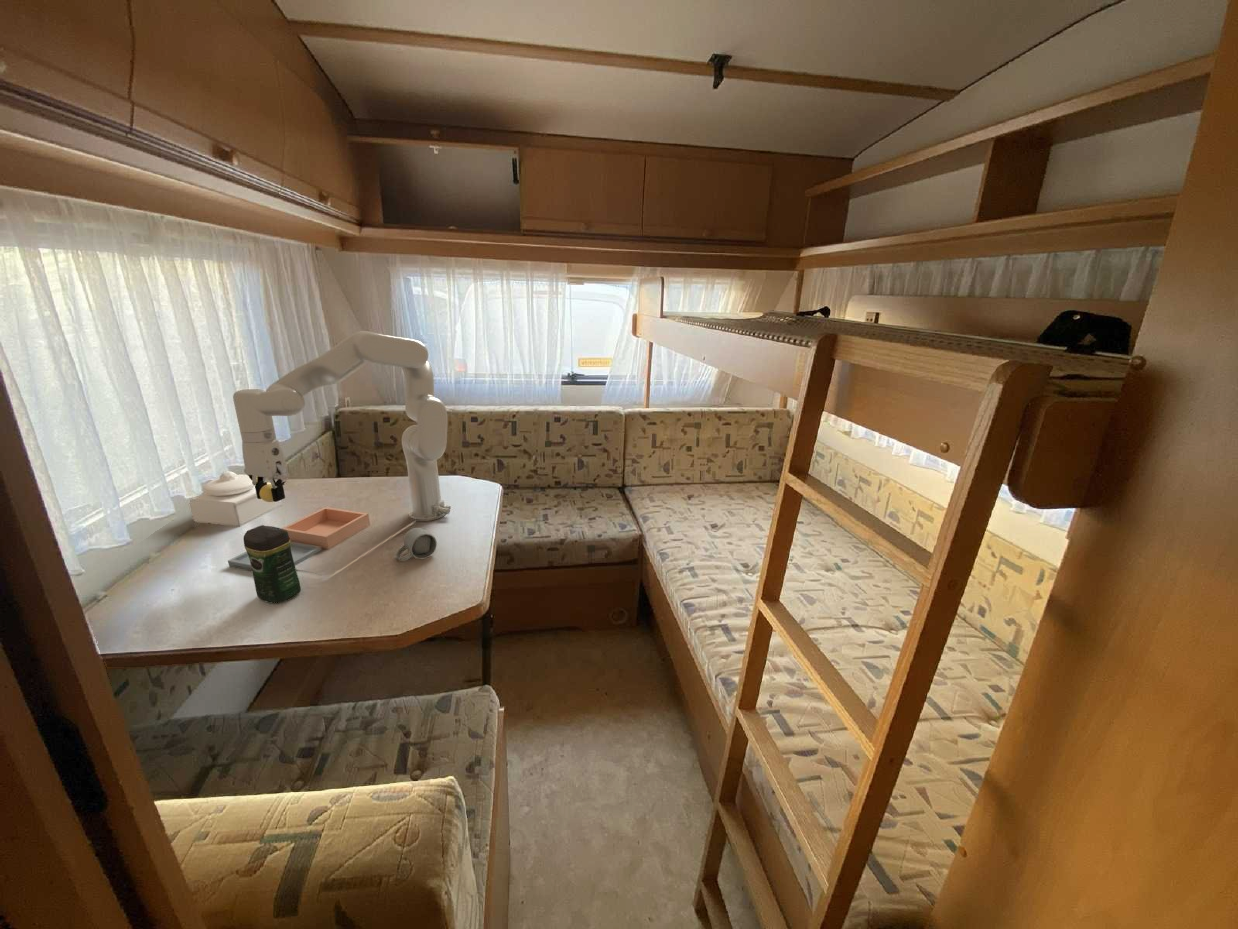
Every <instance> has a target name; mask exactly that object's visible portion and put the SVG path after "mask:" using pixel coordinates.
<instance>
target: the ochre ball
mask: <svg viewBox="0 0 1238 929" xmlns="http://www.w3.org/2000/svg"><path fill="white" fill-rule="evenodd" d="M271 488H273V487H272V485H271V484H267V485H265V486H263V487H262V488H261V490H260V493H259V494H260V497H261V498H262V499H263V500H264V501H266V502H274V501H273V497H272V492H271Z"/></svg>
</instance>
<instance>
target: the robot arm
mask: <svg viewBox="0 0 1238 929" xmlns="http://www.w3.org/2000/svg"><path fill="white" fill-rule="evenodd" d="M428 359H429V351H428V347H426V345H425V344H424V343H423V342H422V341H419V340H418V339H417V340H416V339H413V338H408V337H405V336H404V337H403V336H393V335H388V334H387V335H386V334H382V333H377V332H372V331H367V330H359V331H357V332H354V333H352V334H350V335H349V336H348V337H346V338H345V339H343V340H342V341H340V342H339V343H337V344H336V345H335V346H333V347H332V348H330V349H328V350H327V351H326V352H324V353H322V354H321V355H319V356H317V357H316V358H314V359H311V360H310V361H307V362H306V363H304V364H302V365H301V366H298V367H297V368H295V369H293V370H291V371H290V372H288V373H287V374H285V375H283V376H282V377H281V378H279V379H278V380H277V379H276V380H275V382H273V383H272V384H271V385H269V386H268V387H267V389H266V390H263V389H261V388H260V389H259V388H249V389H240V390H237V391H234V393H233V395H232V399H233V404H234V405H233V406H234V408H235V413H236V419H237V423H238V427H239V433H240V437H241V441H242V442H241V444H242V445H241V448H242V449H241V450H242V458H243V463H244V470H243V472H244V474H245V475H248V476H249V478H250V479H251V480H252V484H253V485H256V486H255V490H256V494H257V498H258V499H262V498H261V497H260V494H259V493H260V490H261V488H262V487H263V486H265V485H267V482H268V481H267V482H266V479H268V480H269V483H271V485H272V487H273V488H271V492H272V497H273V501H274V502H277V501H280V500H281V501H282V500H284V499H286V495H285V490H284V486H285V483H286V481H287V480H288V479H289V478H290V475H289V473H288V472H289V470H288V466H287V461H286V457H285V453H284V451H283V447H282V445H281V443H280V441H279V440H278V439H277V437H276V430H275V425H274V419H273V417H278V416H279V417H291V416H295V415H296V416H297V415H298V414H300V413H302V411H304V409H305V407H306V400H305V396H306V395H308V394H310V393H311V392H314V391H315V390H317V389H319V388H322V387H327V386H331V385H336V384H338V383H341V382H343V381H345V380H346V379H347V378H349V377H350V376H352V374H354V373H355V372H357V371H359V370H360V369H362V368H363V367H364V366H366V365H367V364H368V363H371V364H376V365H377V364H378V365H384V366H388V367H389V366H390V367H400V368H401V369H402V372H403V374H404V380H405V400H404V401H405V406H404V407H405V414H406V417H408V418H409V419H410V420H412V421H413V422H416V424H413V425H410V426H408V427H407V428H406V429H405V430H404V431H403V432H402V435H401V447H402V451H403V454H404V458H405V463H406V467H407V477H408V484H409V492H410V500H411V507H412V508H411V509H410V510H409V511H408V517H410V518H411V519H414V520H413V521H414V522H429V521H434V520H438V519H441V518H442V517H444V516H445V515H449V514H450V512H451V508H452V506H450V505H445V500H442V498H441V497H442V496H441V488H440V476H439V470H438V469H439V468H438V461H437V460H439V459H440V458H441V457H442V456H443V455H444V454H445V451H446V449H447V444H448V442H447V440H448V411H447V408H446V405H445V404H444V403H443V401H442V400H440V399H439V398H437V397H436V396H435V382H434V381H435V380H434V371H433V369H432V365H431V364H430V362H429V360H428ZM275 479H277V480H275Z"/></svg>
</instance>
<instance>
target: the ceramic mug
mask: <svg viewBox="0 0 1238 929" xmlns="http://www.w3.org/2000/svg"><path fill="white" fill-rule="evenodd" d="M402 540H403V545H402V546H401V547H400V548H398V550H397V551H396V552H395V558H397V560H398V561H399V562H406V561H408V560H410V558H412V557H414V558H415V559H417V560H425V559H427V558H430V557H431V556H432V555H433V554H434V553H435V552H436V550H437V546H438V543H437V539H436V537H435V535H433V534H432V533H430V532H428V531H427V530H425V528H422V527H413V528H410V529H409V530H407V532H405V534H404V536H403V539H402ZM406 550H407V551H408V552H407V553H406V554H405V555H402V554H403V552H405V551H406ZM401 555H402V556H401Z"/></svg>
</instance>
